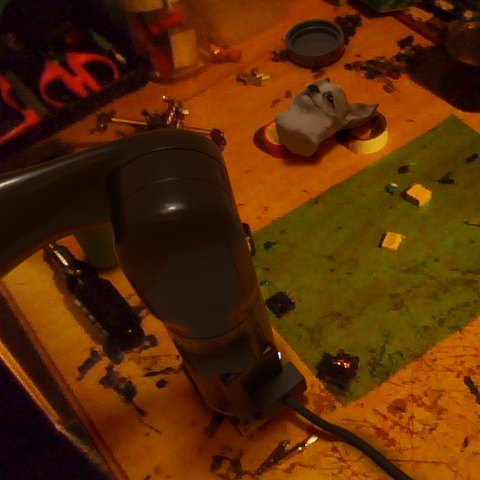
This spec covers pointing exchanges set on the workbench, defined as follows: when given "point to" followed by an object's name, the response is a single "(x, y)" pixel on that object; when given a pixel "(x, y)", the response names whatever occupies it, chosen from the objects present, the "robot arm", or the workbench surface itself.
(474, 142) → the workbench surface
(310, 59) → the dark grey jar lid
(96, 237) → the green can
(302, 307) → the workbench surface
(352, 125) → the ceramic sculpture
